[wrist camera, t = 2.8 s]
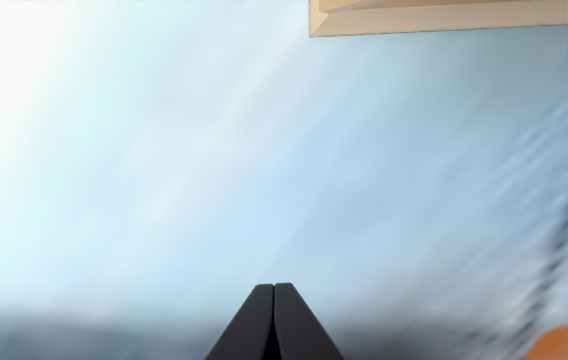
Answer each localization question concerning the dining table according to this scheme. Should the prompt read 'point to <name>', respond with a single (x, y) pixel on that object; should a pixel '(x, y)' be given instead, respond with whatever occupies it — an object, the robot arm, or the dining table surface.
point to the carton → (436, 16)
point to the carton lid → (343, 5)
